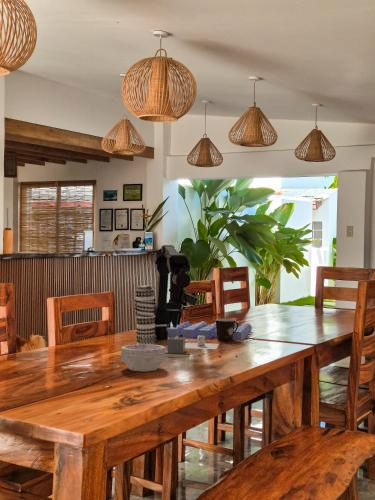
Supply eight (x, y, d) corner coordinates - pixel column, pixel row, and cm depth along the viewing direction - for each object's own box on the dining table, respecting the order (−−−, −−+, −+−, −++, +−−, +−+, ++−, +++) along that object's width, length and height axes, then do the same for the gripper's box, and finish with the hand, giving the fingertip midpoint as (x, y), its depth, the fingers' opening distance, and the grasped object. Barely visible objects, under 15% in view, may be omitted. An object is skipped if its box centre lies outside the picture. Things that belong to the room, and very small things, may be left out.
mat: (159, 356, 250) (159, 354, 250) (164, 351, 261) (164, 349, 261) (188, 357, 248) (188, 355, 248) (191, 352, 259) (191, 350, 259)
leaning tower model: (154, 346, 273) (152, 286, 272) (133, 346, 275) (131, 287, 274) (159, 342, 282) (157, 284, 281) (139, 342, 284) (137, 284, 283)
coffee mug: (218, 344, 281) (219, 321, 281) (212, 341, 290) (212, 319, 290) (244, 343, 284) (244, 320, 284) (237, 340, 293) (237, 318, 293)
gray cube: (183, 354, 251) (183, 338, 251) (167, 353, 252) (167, 337, 252) (185, 351, 257) (185, 336, 257) (169, 351, 258) (170, 335, 258)
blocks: (165, 338, 299) (165, 328, 299) (184, 329, 333) (184, 319, 333) (241, 342, 291) (241, 331, 291) (252, 332, 324) (252, 322, 324)
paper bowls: (142, 363, 236) (142, 341, 235) (174, 369, 226) (174, 346, 226) (111, 369, 224) (111, 346, 224) (144, 375, 214) (144, 351, 214)
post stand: (181, 350, 263) (182, 338, 263) (186, 345, 277) (186, 333, 277) (216, 352, 262) (216, 339, 262) (219, 346, 276) (219, 334, 275)
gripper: (194, 288, 244) (194, 329, 244) (200, 285, 262) (199, 323, 263) (165, 287, 245) (164, 329, 245) (172, 284, 264) (172, 323, 264)
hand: (176, 326), depth 254 cm, fingers open, 9 cm apart
